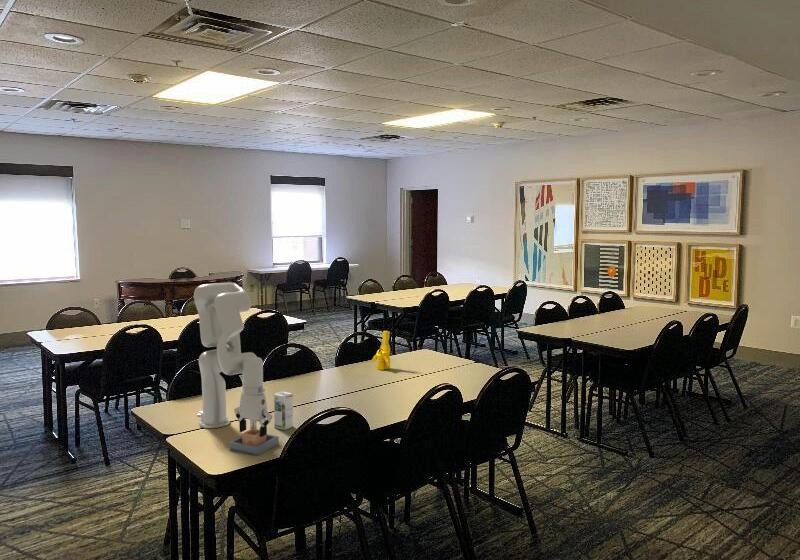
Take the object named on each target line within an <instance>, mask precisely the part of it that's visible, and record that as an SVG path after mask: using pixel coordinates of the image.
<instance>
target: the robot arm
mask: <svg viewBox="0 0 800 560" xmlns="http://www.w3.org/2000/svg"><path fill="white" fill-rule="evenodd" d="M193 302H194V304H195V305H194V306H195V308H196V310H197V314H198V321H199V333H200V340H201V341H200V342H201V344H202V346H203V347H206V348H215V347H216V349H211V350H206V351H203V352H202V353H201V354H200V355H199V358H198V365H199V371H200V377H201V391H202V392H201V394H202V410H200V411H198V413H197V415H196V417H198V418H201V419H200V421H199V424H198V425H199V427H201V428H206V429H217V428H222V427H226V426H228V425H229V424H230V423H231V418H229V417H227V392H226V387H227V386H226V380H225V378H224V377H223V376H222V375H221V374H220V373H223V374H225V375H226V376H233V375H238V374H241V375H242V378H241V379H242V380H241V381H242V383H241V384H242V392H241V395H240V400H239V406H238V407H235V408H234V409H233V411H234V414H235V417H236V419H237V421H238V423H239V425H238V427H239V433H244V432H246V431H247V420H249V421H250V420H254V421H256V422H258V423H259V424H260V427H259V430H260V437H263V436H265V435H266V434H268V433H267V432H268V427H267V426H268V425H269V424H270V423H271V422H272V419H273V415H272V414H271V413H270V412H269V411H268V405H267V398H266V394H265V392H266V389H265V388H264V367H263V366H264V361H263V359H262V358H261V357H258V356H257V355H256V354H255V353H254V352H252V351H250V352H249V351H248V352H242V350H241V348H242V347H241V335H240V334H241V332H242V331H243V330H244V329H245V325H244V321H243V319H242V315H241V313H245V312H248V311H250V309H251V307H252V300H251V298H250V295H249V293H248V292H247V291H246V290H245V289H244V288H242V287H241V286H240V285H238V284H237V283H235V282H229V281H228V282H214V283H206V284H205V283H204V284H201V285H198V286H197V287H196V288H195V289H194V292H193Z"/></svg>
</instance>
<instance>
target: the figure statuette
mask: <svg viewBox="0 0 800 560" xmlns="http://www.w3.org/2000/svg"><path fill="white" fill-rule="evenodd" d="M381 338H382V343H381V345H380V347H379V349H378V350H377V351H376V354H375V355H373V357H372V359H371V361H370V362H372V363H374V362H375V361H376V360H377V361H376V369H377V370H379V371H381V370H382V371H383V370H389V369H390V368H391V357H390V353H391V347H390V344H389V343H390V342H389V341H390V331H388V330H383V331H382V337H381Z"/></svg>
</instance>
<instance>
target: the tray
mask: <svg viewBox="0 0 800 560" xmlns="http://www.w3.org/2000/svg"><path fill="white" fill-rule="evenodd" d="M279 441H280V439H279V436H278V435H273V434H269V433H267V434H266V442H264V443H262V444H261V445H259V446H257V447H256V446H251V445H246V444H242V435H241V436H239V437H237V438H235V439H233V440H232V441H229V442H228V443H229V444H228V446H229V447H228V448H229V451H232V452H236V453H237V452H238V453H242V454H247V455H252V456H256V457H257V456H260V455H261V454H263V453H265V452H267V451H268V450H270V449H272V448H274V447H276V446H278V445H279V444H280V442H279Z"/></svg>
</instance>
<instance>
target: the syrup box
mask: <svg viewBox="0 0 800 560" xmlns="http://www.w3.org/2000/svg"><path fill="white" fill-rule="evenodd" d="M273 405H274V406H273V408H274V409H273V410H274V411H273V412H274V413H273V414H274V415H273V418H274V429H279V430H283V431H286V430H288V429H290V428H293V427H294V394H293V392H286V391H279V392H276V393H274V394H273Z"/></svg>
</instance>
